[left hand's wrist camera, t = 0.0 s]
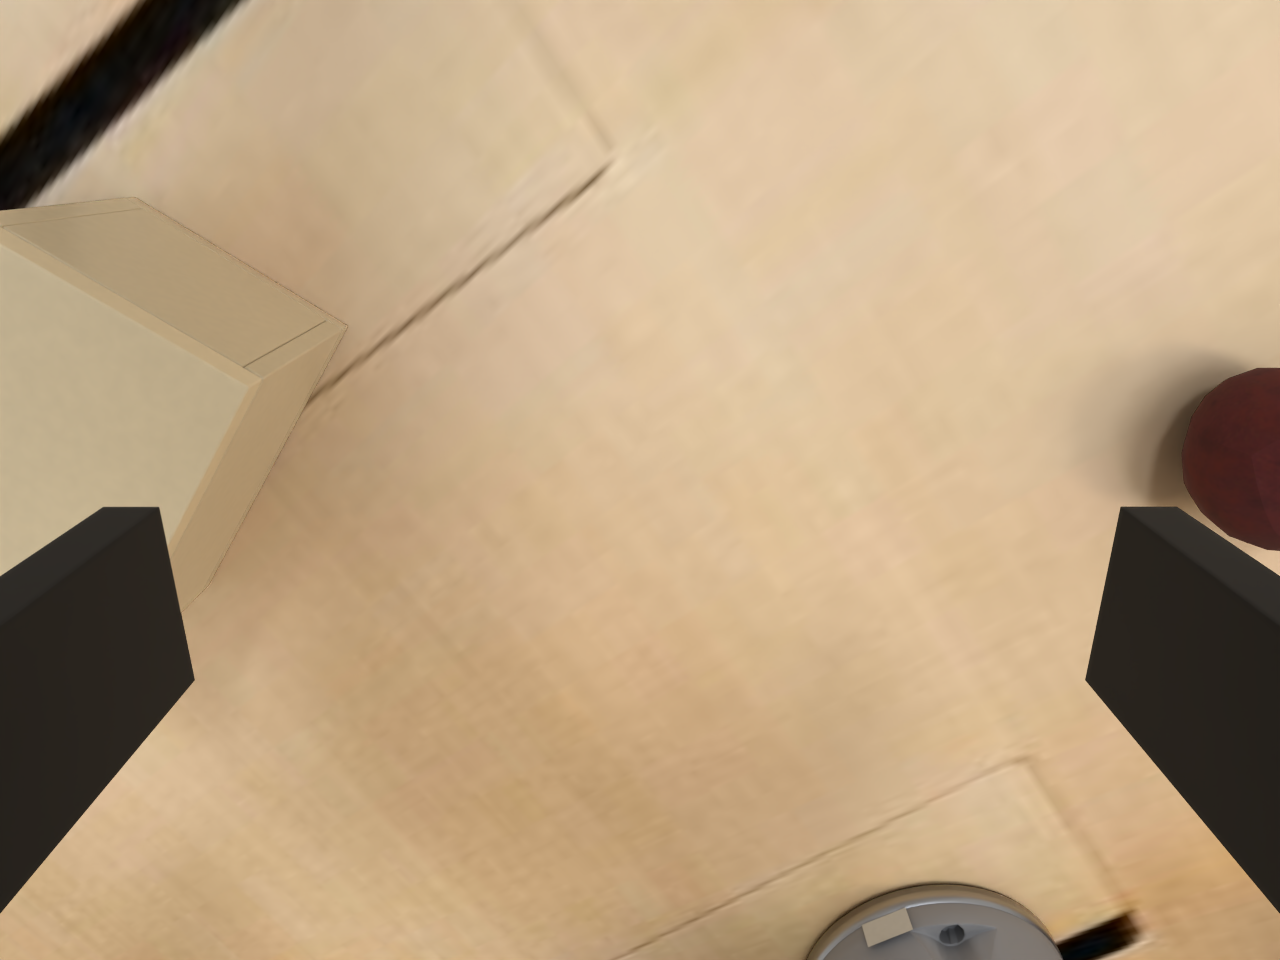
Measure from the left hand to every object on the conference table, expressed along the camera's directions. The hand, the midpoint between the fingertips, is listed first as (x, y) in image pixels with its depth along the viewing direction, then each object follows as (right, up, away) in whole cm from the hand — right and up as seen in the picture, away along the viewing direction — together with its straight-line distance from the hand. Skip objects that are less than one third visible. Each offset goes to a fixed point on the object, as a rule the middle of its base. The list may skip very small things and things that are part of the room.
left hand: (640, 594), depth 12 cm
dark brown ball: (+27, +4, +28) cm, 39 cm away
